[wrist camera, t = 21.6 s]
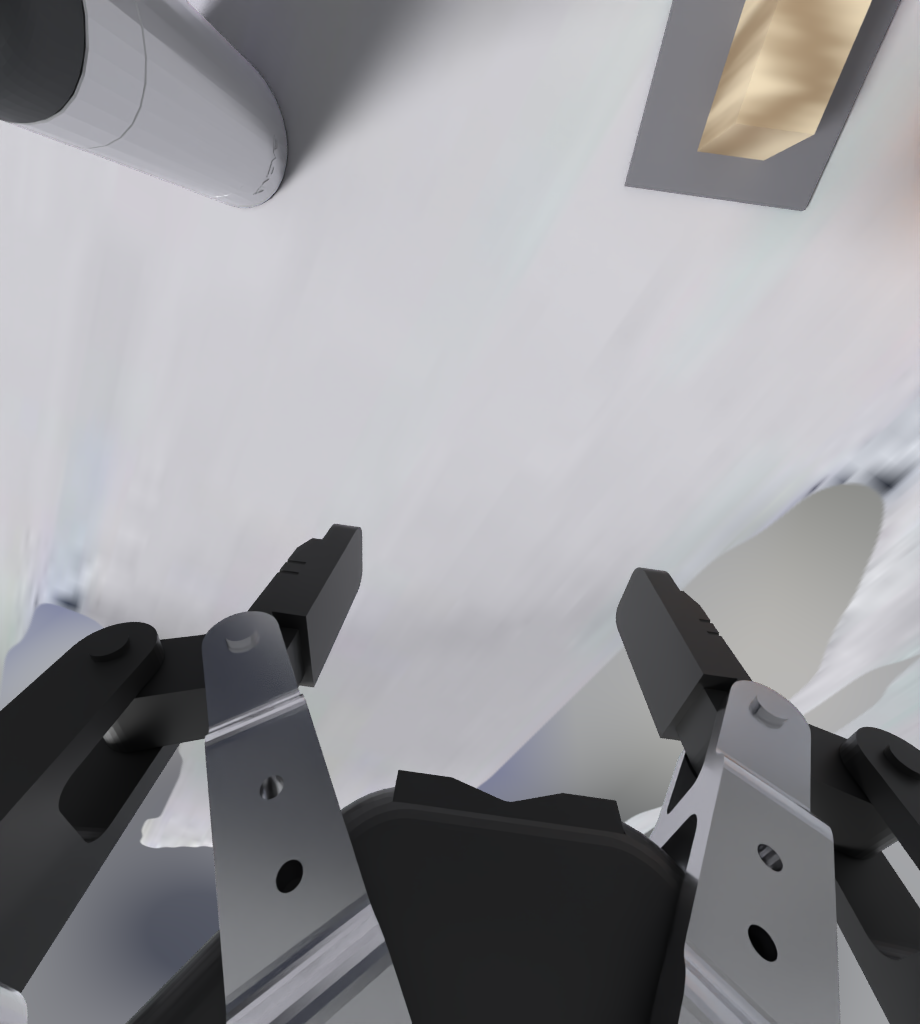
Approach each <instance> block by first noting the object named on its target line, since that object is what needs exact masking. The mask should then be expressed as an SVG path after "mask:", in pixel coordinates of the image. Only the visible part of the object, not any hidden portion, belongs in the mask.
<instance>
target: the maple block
mask: <svg viewBox="0 0 920 1024" xmlns="http://www.w3.org/2000/svg"><path fill="white" fill-rule="evenodd" d="M871 1H872V0H746V1H745V4H744V7H743V10H742V13H741V16H740V20H739V23H738V26H737V29H736V32H735V35H734V38H733V41H732V44H731V48H730V51H729V54H728V57H727V60H726V63H725V66H724V69H723V72H722V76H721V79H720V82H719V85H718V88H717V91H716V94H715V97H714V100H713V103H712V107H711V110H710V113H709V116H708V119H707V122H706V125H705V128H704V131H703V135H702V138H701V141H700V144H699V147H698V150H697V151H698V152H705V153H713V154H720V155H727V156H734V157H742V158H749V159H756V160H763V161H764V160H766V159H768V158H770V157H772V156H774V155H776V154H777V153H779V152H781V151H783V150H785V149H787V148H789V147H791V146H793V145H795V144H797V143H799V142H801V141H803V140H805V139H807V138H808V137H810V136H812V135H814V134H815V132H816V130H817V127H818V125H819V123H820V120H821V118H822V116H823V113H824V111H825V109H826V106H827V104H828V102H829V99H830V97H831V95H832V92H833V90H834V88H835V85H836V83H837V81H838V78H839V76H840V74H841V71H842V69H843V67H844V64H845V62H846V60H847V57H848V55H849V53H850V50H851V48H852V46H853V43H854V41H855V39H856V36H857V34H858V32H859V29H860V27H861V25H862V22H863V20H864V18H865V15H866V13H867V11H868V8H869V6H870V4H871Z"/></svg>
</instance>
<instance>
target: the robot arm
mask: <svg viewBox="0 0 920 1024" xmlns="http://www.w3.org/2000/svg"><path fill="white" fill-rule="evenodd" d="M0 120H2V121H5V122H8V123H10V124H13V125H16V126H18V127H21V128H24V129H26V130H29V131H32V132H34V133H37V134H40V135H42V136H45V137H48V138H51V139H53V140H56V141H59V142H61V143H64V144H67V145H69V146H73V147H76V148H78V149H81V150H84V151H86V152H89V153H92V154H94V155H97V156H100V157H102V158H105V159H108V160H110V161H113V162H116V163H118V164H121V165H124V166H126V167H129V168H132V169H134V170H137V171H140V172H142V173H145V174H148V175H150V176H153V177H156V178H158V179H161V180H164V181H166V182H169V183H172V184H174V185H177V186H180V187H182V188H185V189H188V190H190V191H193V192H195V193H198V194H200V195H203V196H206V197H209V198H211V199H214V200H217V201H219V202H222V203H225V204H228V205H231V206H235V207H238V208H250V207H254V206H257V205H260V204H262V203H264V202H265V201H267V200H268V199H269V198H270V197H271V196H272V195H273V194H274V193H275V192H276V190H277V189H278V187H279V185H280V183H281V181H282V179H283V175H284V172H285V168H286V162H287V138H286V130H285V126H284V122H283V117H282V114H281V112H280V109H279V106H278V104H277V101H276V99H275V97H274V95H273V93H272V92H271V90H270V88H269V86H268V85H267V83H266V82H265V80H264V79H263V78H262V77H261V75H260V74H259V73H258V72H257V70H256V69H255V68H254V67H253V66H252V65H251V64H250V63H249V62H248V61H247V60H246V59H245V58H244V57H243V56H242V55H241V54H240V53H239V52H238V51H237V50H236V49H235V48H234V47H233V46H232V45H231V44H230V43H229V42H228V41H227V40H226V39H225V38H224V37H223V36H222V35H221V34H220V33H219V32H218V31H217V30H216V29H215V28H214V27H213V26H212V25H211V24H210V23H209V22H208V21H207V20H206V19H205V18H204V17H203V16H202V15H201V14H200V13H199V12H198V11H197V10H196V9H195V8H194V7H193V6H192V5H191V4H190V3H189V2H188V1H187V0H0ZM361 577H362V530H361V528H360V527H354V526H347V525H340V524H333V525H332V527H331V528H330V529H329V531H328V532H327V534H326V535H325V536H324V538H323V539H315V538H312V539H311V540H309V541H307V542H306V543H304V544H302V545H301V546H299V547H297V549H296V550H295V551H294V552H293V554H292V555H291V556H290V558H289V559H288V562H286V563H285V564H284V565H283V567H282V568H281V569H280V572H279V573H277V574H276V575H275V577H274V578H273V579H272V581H271V582H270V583H269V584H268V586H267V587H266V588H265V590H264V591H263V592H262V593H261V595H260V596H259V597H258V598H257V600H256V601H255V602H254V604H253V605H252V606H251V607H250V609H249V610H248V611H247V612H242V613H237V614H234V615H232V616H229V617H227V618H225V619H223V620H221V621H220V622H218V623H217V624H216V625H214V626H213V627H212V628H211V629H210V630H209V631H208V632H207V634H204V635H198V636H189V637H181V638H172V639H163V640H160V639H159V637H158V634H157V632H156V630H155V629H154V627H152V626H151V625H149V624H146V623H141V622H127V623H121V624H116V625H112V626H109V627H106V628H103V629H101V630H99V631H96V632H94V633H92V634H90V635H89V636H87V637H85V638H84V639H82V640H81V641H79V642H78V643H77V644H75V645H74V646H73V647H72V648H71V649H70V650H68V651H67V652H66V653H65V654H64V655H63V656H62V657H61V658H60V659H58V660H57V661H56V662H55V663H54V664H53V665H52V666H50V667H49V668H48V669H47V670H46V671H45V672H44V673H43V674H41V675H40V676H39V677H38V678H37V679H36V680H35V681H34V682H33V683H31V684H30V685H29V686H28V687H27V688H26V689H25V690H24V691H23V692H21V693H20V694H19V695H18V696H17V697H16V698H15V699H13V700H12V701H11V702H10V703H9V704H8V705H7V706H6V707H4V708H3V709H2V710H1V711H0V1024H27V1020H28V1013H27V1012H28V1011H27V1005H26V1002H25V999H24V998H23V996H22V995H21V994H20V993H21V992H22V990H23V989H24V987H25V986H26V984H27V983H28V981H29V979H30V978H31V976H32V975H33V973H34V972H35V970H36V968H37V967H38V965H39V964H40V962H41V961H42V959H43V957H44V956H45V954H46V953H47V951H48V949H49V948H50V946H51V945H52V943H53V942H54V940H55V938H56V937H57V935H58V934H59V932H60V931H61V929H62V928H63V926H64V924H65V923H66V921H67V920H68V918H69V916H70V915H71V913H72V912H73V910H74V909H75V907H76V905H77V904H78V902H79V901H80V899H81V898H82V896H83V895H84V893H85V891H86V890H87V888H88V887H89V885H90V883H91V882H92V880H93V879H94V877H95V876H96V874H97V873H98V871H99V870H100V868H101V866H102V865H103V863H104V862H105V860H106V858H107V857H108V855H109V854H110V852H111V850H112V849H113V847H114V846H115V844H116V843H117V841H118V840H119V838H120V837H121V835H122V833H123V832H124V830H125V829H126V827H127V826H128V824H129V822H130V821H131V819H132V818H133V816H134V815H135V813H136V811H137V810H138V808H139V807H140V805H141V804H142V802H143V800H144V799H145V797H146V796H147V794H148V793H149V791H150V789H151V788H152V786H153V785H154V783H155V781H156V780H157V779H158V777H159V775H160V774H161V772H162V770H163V769H164V768H165V766H166V764H167V763H168V761H169V759H170V758H171V757H172V755H173V753H174V752H175V750H176V749H177V747H178V746H179V744H180V743H183V742H188V741H194V740H199V739H205V756H206V768H207V781H208V793H209V805H210V817H211V830H212V842H213V854H214V866H215V879H216V891H217V903H218V916H219V927H220V929H219V930H218V931H217V932H216V933H215V934H214V936H212V938H210V939H209V940H208V942H207V943H205V944H204V945H203V946H202V947H201V949H199V951H197V953H196V954H195V955H194V956H193V957H192V958H191V959H190V960H189V961H188V962H187V963H186V964H185V965H184V966H183V967H182V968H181V969H180V970H179V971H178V972H177V973H176V974H175V975H174V976H173V977H172V978H171V979H170V980H169V981H168V982H167V983H166V984H165V985H164V986H163V987H162V988H161V989H160V990H159V991H158V992H157V993H156V994H155V995H154V996H153V997H152V998H151V999H150V1000H149V1001H148V1002H147V1003H146V1004H145V1005H144V1006H143V1007H142V1008H141V1009H140V1010H139V1011H138V1012H137V1013H136V1014H135V1015H134V1016H133V1017H132V1018H131V1019H130V1020H129V1021H128V1022H127V1023H126V1024H840V999H839V973H838V947H837V923H838V925H839V927H840V929H841V931H842V933H843V935H844V937H845V939H846V941H847V942H848V944H849V946H850V948H851V950H852V952H853V954H854V956H855V958H856V960H857V962H858V964H859V966H860V967H861V969H862V971H863V973H864V975H865V977H866V979H867V981H868V983H869V985H870V987H871V989H872V990H873V992H874V994H875V996H876V998H877V1000H878V1002H879V1004H880V1006H881V1008H882V1009H883V1011H884V1013H885V1015H886V1017H887V1019H888V1021H889V1023H890V1024H920V908H919V906H918V905H917V903H916V902H915V900H914V899H913V897H912V896H911V894H910V893H909V892H908V890H907V888H906V887H905V886H904V884H903V883H902V881H901V880H900V878H899V877H898V875H897V874H896V872H895V871H894V869H893V868H892V866H891V865H890V863H889V862H888V860H887V859H886V857H885V856H884V854H883V853H882V850H884V849H885V848H887V847H889V846H890V845H892V844H893V843H895V842H897V841H899V842H900V843H901V845H902V846H903V848H904V849H905V850H906V852H907V853H908V854H909V856H910V857H911V859H912V860H913V861H914V863H915V864H916V866H917V867H918V868H919V870H920V750H918V749H917V748H915V747H914V746H912V745H911V744H909V743H908V742H906V741H904V740H903V739H901V738H899V737H897V736H895V735H893V734H891V733H889V732H886V731H884V730H881V729H877V728H873V727H862V728H860V729H858V730H857V731H856V732H855V733H854V734H853V735H852V736H851V737H850V738H848V739H845V738H843V737H840V736H838V735H835V734H833V733H830V732H828V731H825V730H823V729H820V728H818V727H815V726H812V725H810V724H808V723H807V721H806V720H805V718H804V716H803V715H802V714H801V713H800V711H799V710H798V709H797V708H796V707H795V706H794V705H793V704H792V703H791V702H790V701H788V700H787V699H786V698H784V697H783V696H782V695H780V694H779V693H777V692H776V691H774V690H773V689H771V688H768V687H767V686H765V685H762V684H760V683H757V682H753V681H752V680H751V679H750V677H749V676H748V674H747V673H746V671H745V670H744V668H743V667H742V665H741V664H740V663H739V661H738V660H737V658H736V657H735V655H734V654H733V653H732V651H731V650H730V648H729V647H728V645H727V644H726V642H725V641H724V639H723V638H722V637H721V636H719V632H718V631H717V629H716V628H715V627H714V625H713V624H712V623H710V619H709V618H708V617H707V615H706V613H705V612H704V611H703V609H702V608H701V607H700V605H699V604H698V603H697V602H695V601H694V600H693V599H692V598H691V597H690V596H688V595H687V594H686V593H685V592H684V591H680V590H679V588H678V587H677V585H676V584H675V582H674V581H673V579H672V578H671V576H670V575H669V573H667V572H666V571H660V570H653V569H646V568H637V569H635V570H634V572H633V574H632V576H631V578H630V580H629V582H628V585H627V587H626V589H625V591H624V594H623V596H622V598H621V600H620V603H619V605H618V608H617V612H616V624H617V628H618V631H619V634H620V636H621V639H622V641H623V644H624V646H625V649H626V651H627V654H628V656H629V659H630V661H631V664H632V667H633V669H634V672H635V674H636V677H637V679H638V682H639V685H640V687H641V690H642V692H643V695H644V697H645V700H646V702H647V705H648V708H649V710H650V713H651V715H652V718H653V720H654V723H655V725H656V728H657V731H658V733H659V736H660V738H666V739H674V740H680V741H681V742H682V745H683V747H684V750H683V751H682V753H681V754H680V756H679V758H678V761H677V764H676V767H675V770H674V773H673V776H672V779H671V782H670V785H669V788H668V791H667V794H666V797H665V800H664V803H663V806H662V809H661V812H660V815H659V818H658V821H657V823H656V825H655V828H654V830H653V832H652V834H651V835H650V837H649V838H647V837H646V836H645V835H643V834H642V833H641V832H639V831H637V830H635V829H634V828H632V827H630V826H629V825H627V824H625V823H623V822H621V818H620V814H619V810H618V806H617V803H616V801H614V800H607V799H601V798H593V797H586V796H579V795H572V794H565V793H561V794H555V795H550V796H544V797H538V798H532V799H526V800H521V801H515V802H507V801H503V800H501V799H499V798H496V797H494V796H492V795H490V794H487V793H485V792H483V791H481V790H479V789H476V788H474V787H472V786H470V785H467V784H465V783H463V782H461V781H459V780H456V779H454V778H452V777H445V776H438V775H431V774H424V773H416V772H409V771H402V770H398V775H397V780H396V785H395V787H393V788H388V789H383V790H380V791H377V792H373V793H370V794H368V795H366V796H364V797H362V798H360V799H357V800H356V801H354V802H352V803H351V804H349V805H348V806H346V807H344V808H343V809H342V810H340V807H339V803H338V800H337V797H336V794H335V791H334V788H333V784H332V781H331V778H330V775H329V772H328V769H327V766H326V762H325V759H324V756H323V753H322V750H321V747H320V744H319V740H318V737H317V734H316V731H315V728H314V725H313V721H312V718H311V715H310V712H309V709H308V706H307V703H306V700H305V698H304V695H303V694H300V692H299V689H298V687H299V685H301V686H308V687H314V686H315V684H316V682H317V679H318V677H319V675H320V673H321V671H322V668H323V666H324V664H325V662H326V660H327V657H328V655H329V653H330V651H331V649H332V646H333V644H334V642H335V640H336V638H337V636H338V633H339V631H340V629H341V627H342V625H343V622H344V620H345V618H346V616H347V614H348V611H349V609H350V607H351V605H352V603H353V600H354V598H355V596H356V594H357V592H358V589H359V586H360V582H361Z"/></svg>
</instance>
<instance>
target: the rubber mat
mask: <svg viewBox="0 0 920 1024" xmlns="http://www.w3.org/2000/svg"><path fill="white" fill-rule="evenodd" d="M745 1H746V0H673V3H672V6H671V10H670V14H669V18H668V22H667V26H666V29H665V33H664V37H663V41H662V45H661V48H660V52H659V56H658V60H657V64H656V68H655V71H654V75H653V79H652V83H651V87H650V91H649V94H648V98H647V102H646V106H645V110H644V113H643V117H642V121H641V125H640V129H639V133H638V136H637V140H636V144H635V148H634V152H633V156H632V159H631V163H630V167H629V171H628V175H627V179H626V182H625V186H628V187H635V188H643V189H650V190H657V191H664V192H671V193H678V194H685V195H692V196H699V197H706V198H713V199H720V200H727V201H735V202H742V203H749V204H756V205H763V206H770V207H777V208H784V209H791V210H798V211H803V210H805V209H806V207H807V205H808V202H809V200H810V198H811V196H812V194H813V191H814V189H815V187H816V185H817V183H818V180H819V178H820V176H821V174H822V172H823V169H824V167H825V165H826V163H827V161H828V158H829V156H830V154H831V152H832V150H833V147H834V145H835V143H836V141H837V139H838V136H839V134H840V132H841V130H842V128H843V126H844V123H845V121H846V119H847V117H848V115H849V112H850V110H851V108H852V106H853V104H854V101H855V99H856V97H857V95H858V93H859V90H860V88H861V86H862V84H863V82H864V79H865V77H866V75H867V73H868V71H869V68H870V66H871V64H872V62H873V60H874V57H875V55H876V53H877V51H878V49H879V47H880V44H881V42H882V40H883V38H884V36H885V33H886V31H887V29H888V27H889V25H890V22H891V20H892V18H893V16H894V14H895V11H896V9H897V7H898V5H899V3H900V0H872V1H871V4H870V6H869V8H868V11H867V13H866V15H865V18H864V20H863V22H862V25H861V27H860V29H859V32H858V34H857V36H856V39H855V41H854V43H853V46H852V48H851V50H850V53H849V55H848V57H847V60H846V62H845V64H844V67H843V69H842V71H841V74H840V76H839V78H838V81H837V83H836V85H835V88H834V90H833V92H832V95H831V97H830V99H829V102H828V104H827V106H826V109H825V111H824V113H823V116H822V118H821V120H820V123H819V125H818V127H817V130H816V132H815V134H814V135H812V136H810V137H808V138H807V139H805V140H803V141H801V142H799V143H797V144H795V145H793V146H791V147H789V148H787V149H785V150H783V151H781V152H779V153H777V154H776V155H774V156H772V157H770V158H768V159H766V160H764V161H763V160H756V159H749V158H742V157H734V156H727V155H720V154H713V153H705V152H698V151H697V150H698V147H699V144H700V141H701V138H702V135H703V131H704V128H705V125H706V122H707V119H708V116H709V113H710V110H711V107H712V103H713V100H714V97H715V94H716V91H717V88H718V85H719V82H720V79H721V76H722V72H723V69H724V66H725V63H726V60H727V57H728V54H729V51H730V48H731V44H732V41H733V38H734V35H735V32H736V29H737V26H738V23H739V20H740V16H741V13H742V10H743V7H744V4H745Z"/></svg>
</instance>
